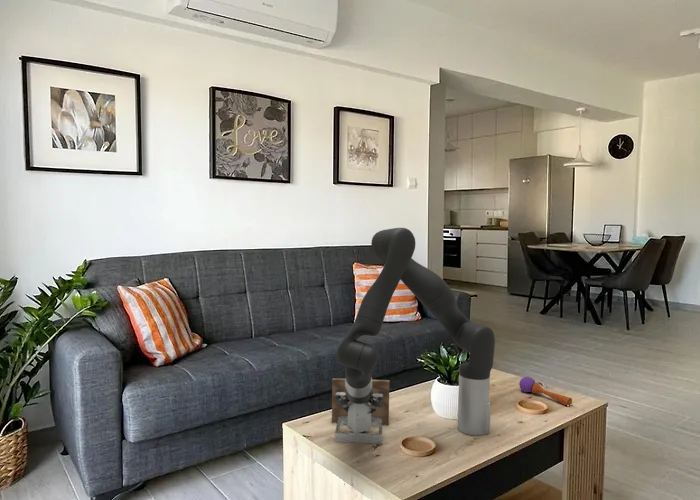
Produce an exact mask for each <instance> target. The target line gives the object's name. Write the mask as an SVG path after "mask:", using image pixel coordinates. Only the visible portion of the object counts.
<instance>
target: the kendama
mask: <svg viewBox="0 0 700 500" xmlns="http://www.w3.org/2000/svg"><path fill="white" fill-rule="evenodd" d="M518 383H519V384H518V385H519V388H520V389H521V391H522V392H523V391H525V392H524V393H526V392H532V393H531V394H534V393H535V394H544V395H546V396H548V397H550V398H551V399H553V400H555V401H556V402H558V403H560V404H562V405H563V406H565V405H570V404H571V405H572V403H573V398H572V397H569V396H565V395H563V394H558V393H555V392H552V391H548V390H545V389H544V388H543V387H542V386H541V385H540V384H539V382H536V381H535V380H534V378H533V377H530V376H524V377H522V378H521V379H520V380H519V382H518Z"/></svg>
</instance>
